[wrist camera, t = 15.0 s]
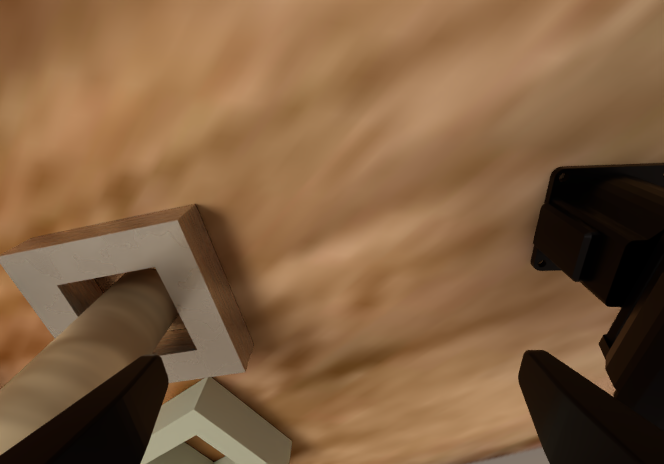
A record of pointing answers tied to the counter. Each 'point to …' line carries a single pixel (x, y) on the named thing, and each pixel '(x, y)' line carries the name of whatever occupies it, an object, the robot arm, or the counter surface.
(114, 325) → the tan rounded peg
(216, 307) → the socket block
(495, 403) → the counter surface
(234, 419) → the collar
